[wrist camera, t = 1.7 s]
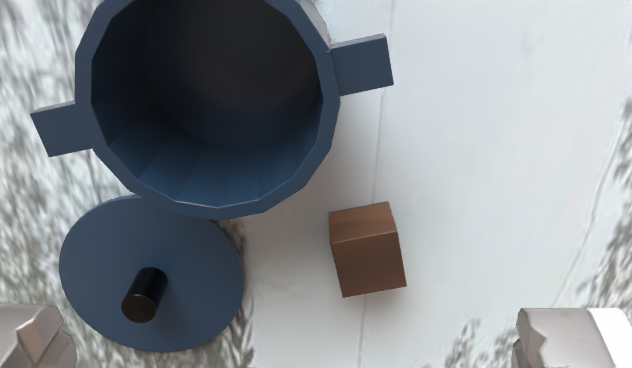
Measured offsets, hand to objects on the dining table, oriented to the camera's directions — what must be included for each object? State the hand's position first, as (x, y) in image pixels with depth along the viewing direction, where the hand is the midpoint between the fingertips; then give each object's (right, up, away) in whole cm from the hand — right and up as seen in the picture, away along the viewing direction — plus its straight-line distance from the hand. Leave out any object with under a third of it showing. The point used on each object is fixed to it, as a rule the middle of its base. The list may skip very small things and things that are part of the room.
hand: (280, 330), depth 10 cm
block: (+4, -1, +30) cm, 31 cm away
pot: (-5, +10, +25) cm, 28 cm away
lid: (-11, -4, +31) cm, 33 cm away
